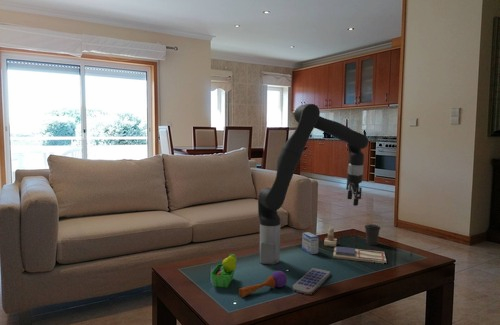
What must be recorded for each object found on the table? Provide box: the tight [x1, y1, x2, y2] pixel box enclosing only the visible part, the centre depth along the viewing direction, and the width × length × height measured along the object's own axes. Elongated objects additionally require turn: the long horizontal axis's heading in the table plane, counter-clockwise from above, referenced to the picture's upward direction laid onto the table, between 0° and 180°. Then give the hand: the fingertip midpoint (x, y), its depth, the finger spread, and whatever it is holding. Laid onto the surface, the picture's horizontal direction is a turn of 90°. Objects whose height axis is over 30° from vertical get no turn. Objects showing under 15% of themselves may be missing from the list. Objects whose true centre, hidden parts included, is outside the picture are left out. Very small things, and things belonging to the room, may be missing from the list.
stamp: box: [323, 227, 338, 248], centre depth 186 cm, size 6×6×8 cm
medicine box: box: [301, 231, 319, 255], centre depth 175 cm, size 8×4×9 cm, turn 25°
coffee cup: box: [364, 223, 381, 246], centre depth 188 cm, size 8×8×10 cm
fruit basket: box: [210, 253, 238, 288], centre depth 137 cm, size 11×9×11 cm
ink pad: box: [336, 246, 356, 256], centre depth 171 cm, size 9×9×1 cm
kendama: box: [238, 270, 288, 298], centre depth 131 cm, size 6×6×20 cm
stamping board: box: [332, 246, 387, 264], centre depth 170 cm, size 14×24×1 cm, turn 73°
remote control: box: [292, 267, 332, 293], centre depth 139 cm, size 8×23×2 cm, turn 149°
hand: (352, 202), depth 183 cm, fingers open, 8 cm apart
